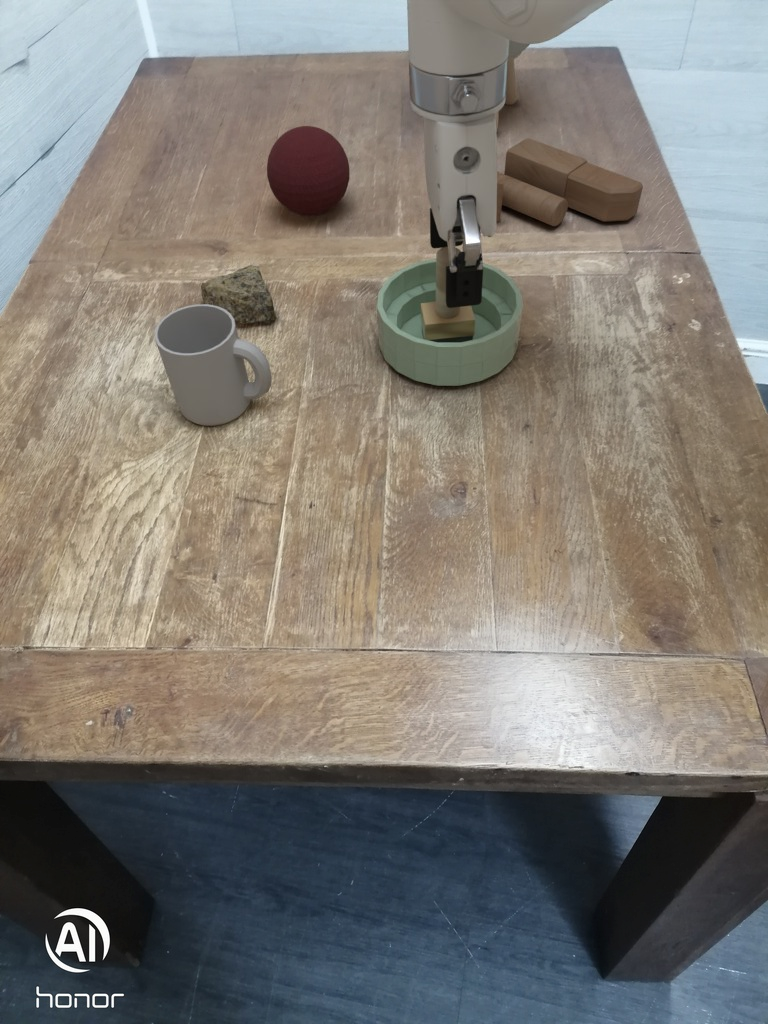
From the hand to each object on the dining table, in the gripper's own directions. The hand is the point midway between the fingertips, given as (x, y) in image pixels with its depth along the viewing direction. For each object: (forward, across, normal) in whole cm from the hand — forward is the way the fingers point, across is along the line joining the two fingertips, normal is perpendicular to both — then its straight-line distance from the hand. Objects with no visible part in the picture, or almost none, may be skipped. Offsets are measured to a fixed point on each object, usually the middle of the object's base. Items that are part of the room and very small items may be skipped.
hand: (454, 273), depth 73 cm
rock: (+8, +10, +22) cm, 25 cm away
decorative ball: (+8, +29, +13) cm, 33 cm away
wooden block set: (+9, +22, -14) cm, 27 cm away
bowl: (+9, 0, 0) cm, 9 cm away
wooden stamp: (+8, 0, +1) cm, 8 cm away
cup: (+8, -5, +23) cm, 25 cm away
